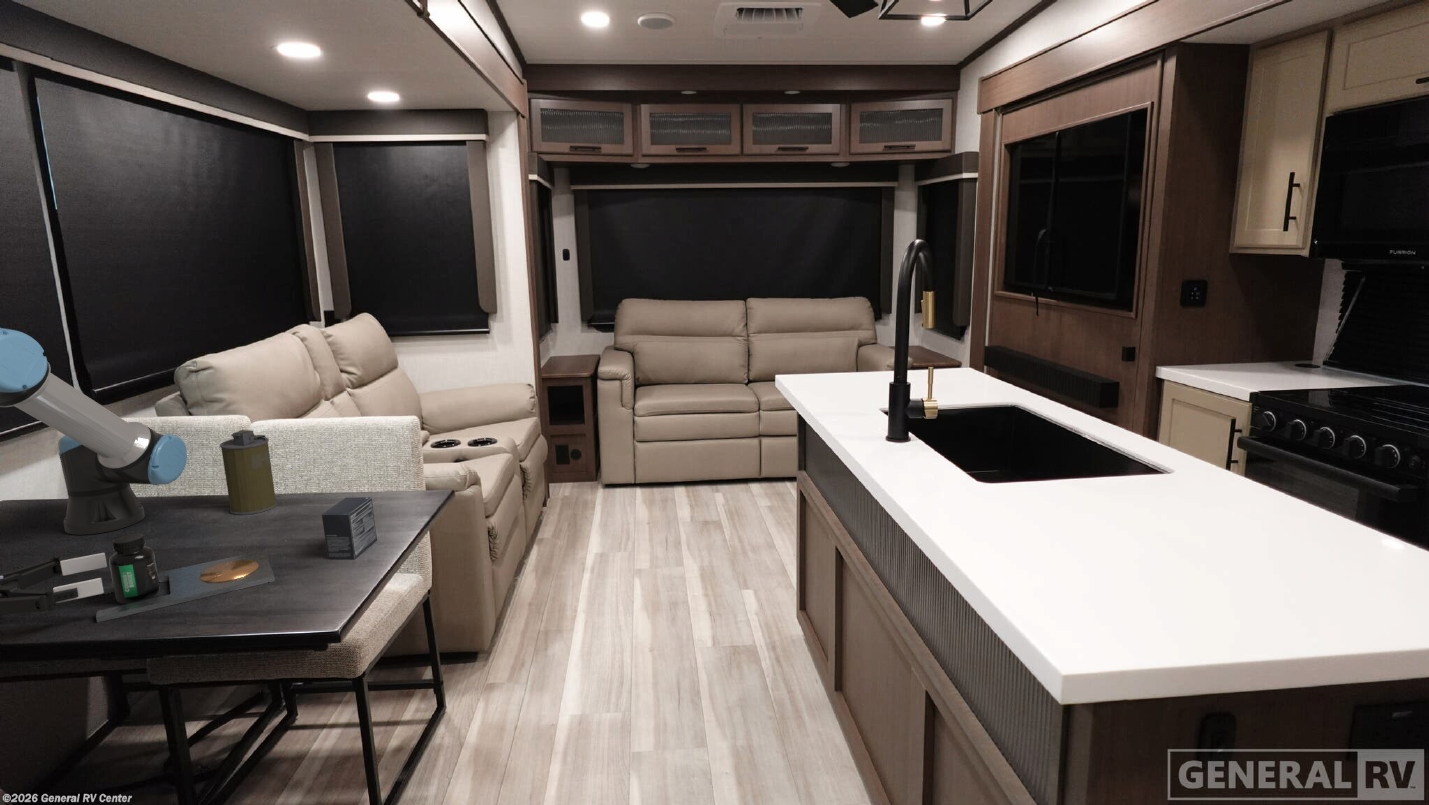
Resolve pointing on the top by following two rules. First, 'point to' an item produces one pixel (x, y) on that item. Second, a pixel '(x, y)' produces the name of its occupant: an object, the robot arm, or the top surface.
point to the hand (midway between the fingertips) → (104, 572)
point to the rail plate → (199, 583)
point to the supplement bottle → (133, 569)
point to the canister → (248, 473)
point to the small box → (349, 528)
